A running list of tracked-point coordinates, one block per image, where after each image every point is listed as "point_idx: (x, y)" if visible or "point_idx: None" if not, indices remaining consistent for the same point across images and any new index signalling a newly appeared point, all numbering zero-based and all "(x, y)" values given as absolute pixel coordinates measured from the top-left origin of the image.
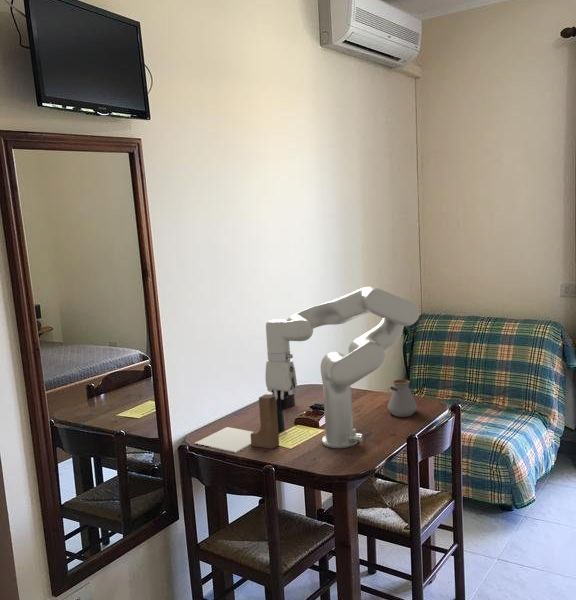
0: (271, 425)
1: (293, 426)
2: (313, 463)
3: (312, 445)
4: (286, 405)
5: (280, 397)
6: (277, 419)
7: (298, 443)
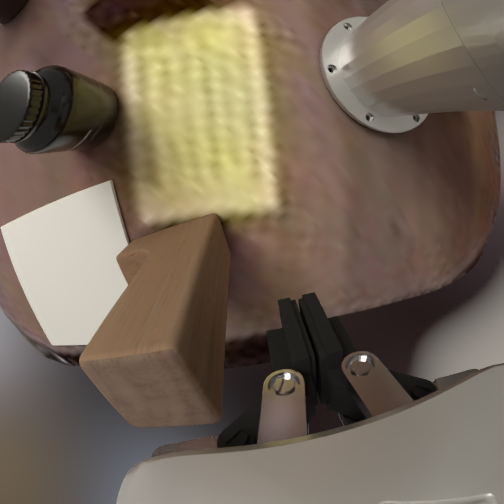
0: (227, 301)
1: (122, 53)
2: (407, 255)
3: (326, 142)
4: (340, 325)
5: (313, 397)
6: (90, 123)
7: (267, 156)
